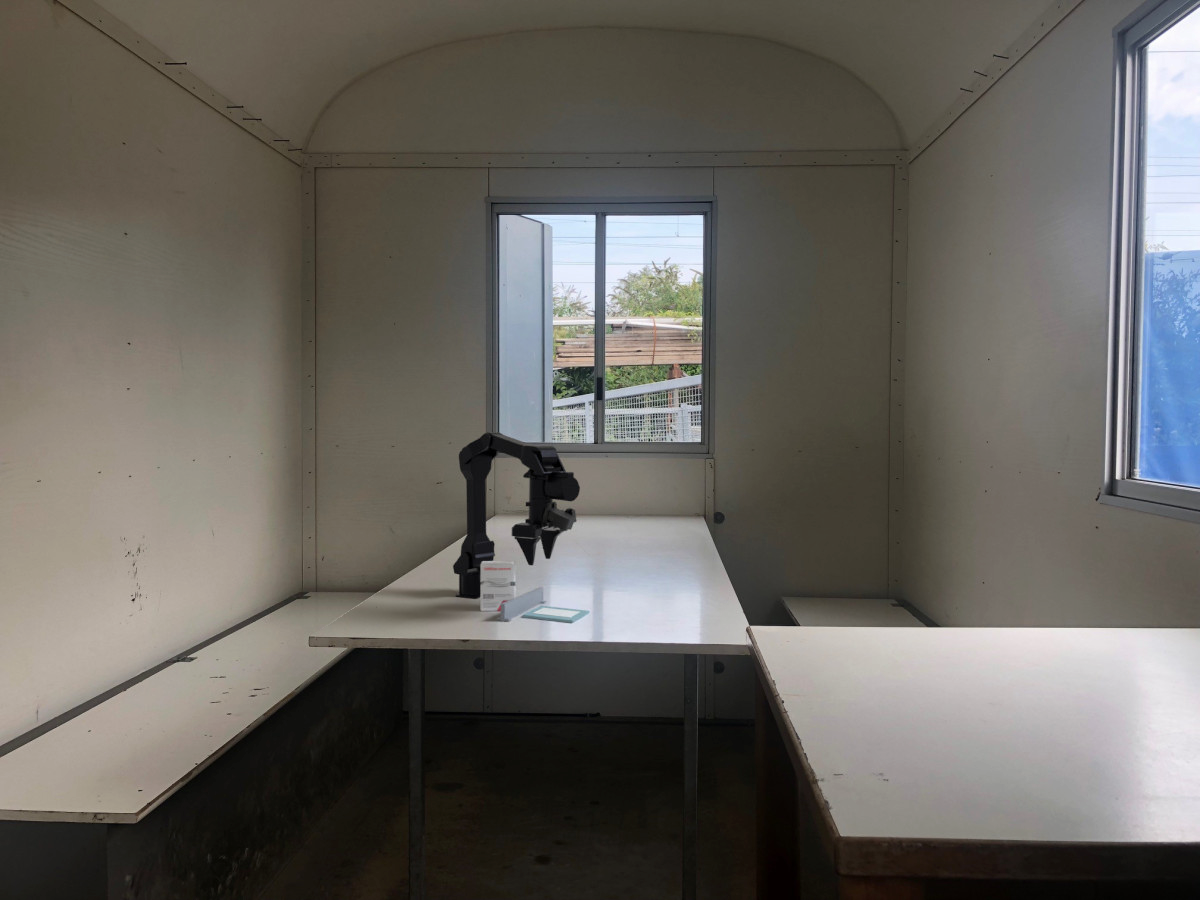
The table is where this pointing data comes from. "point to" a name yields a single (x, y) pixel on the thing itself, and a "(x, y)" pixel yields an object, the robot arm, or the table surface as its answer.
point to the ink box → (496, 584)
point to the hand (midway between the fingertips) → (539, 561)
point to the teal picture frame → (556, 614)
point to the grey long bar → (521, 604)
